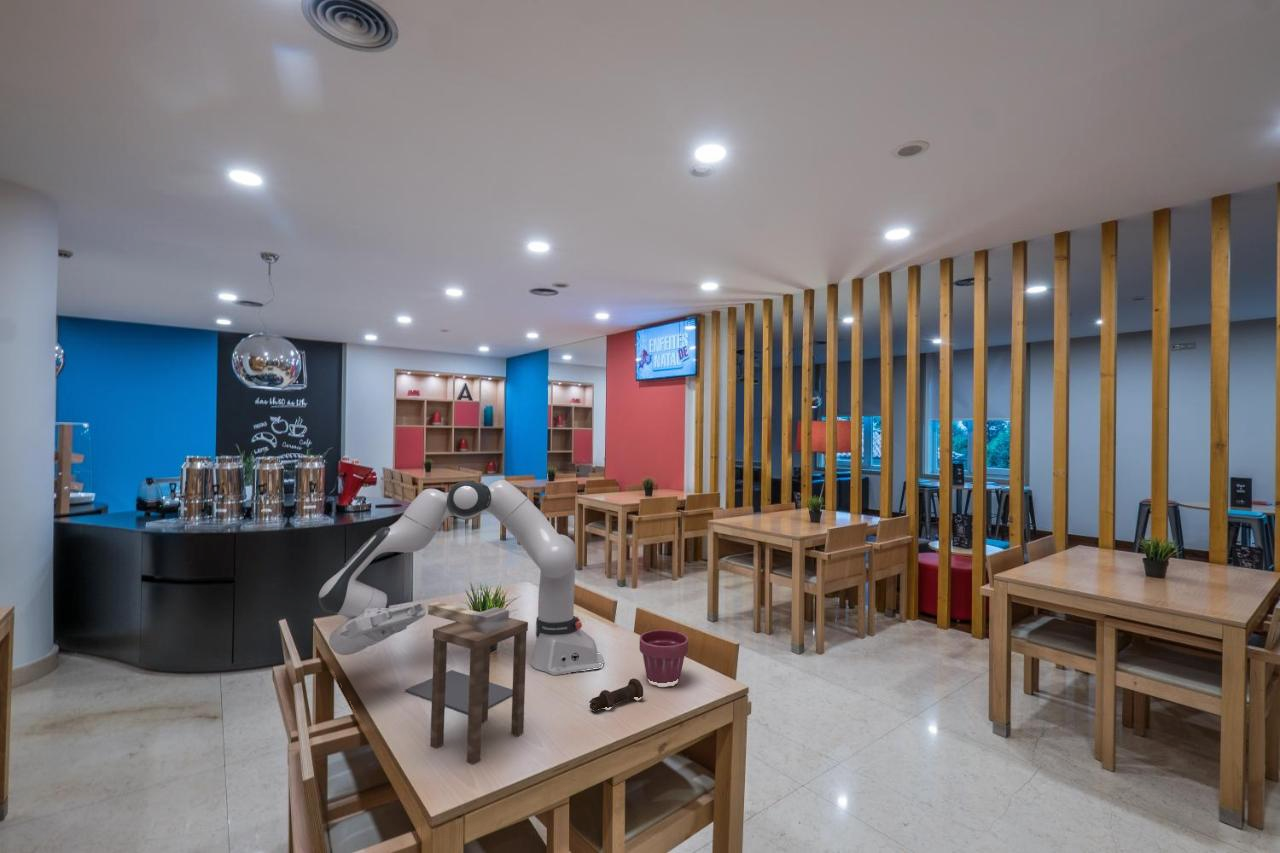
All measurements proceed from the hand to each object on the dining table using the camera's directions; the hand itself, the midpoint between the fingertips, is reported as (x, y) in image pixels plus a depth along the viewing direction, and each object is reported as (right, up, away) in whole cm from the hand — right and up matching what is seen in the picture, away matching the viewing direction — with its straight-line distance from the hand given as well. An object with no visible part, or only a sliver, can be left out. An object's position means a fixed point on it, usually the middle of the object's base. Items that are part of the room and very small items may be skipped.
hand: (405, 610), depth 145 cm
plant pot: (+67, -27, +20) cm, 75 cm away
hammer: (+17, +1, -10) cm, 20 cm away
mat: (+11, -25, +9) cm, 29 cm away
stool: (+23, -25, -15) cm, 37 cm away
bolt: (+54, -27, +4) cm, 60 cm away
